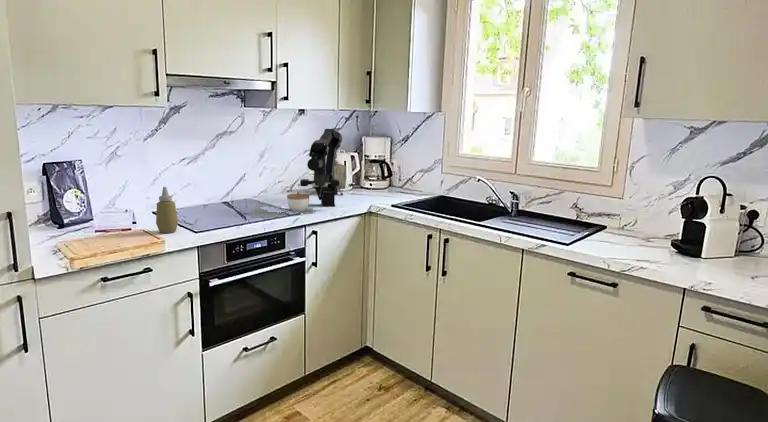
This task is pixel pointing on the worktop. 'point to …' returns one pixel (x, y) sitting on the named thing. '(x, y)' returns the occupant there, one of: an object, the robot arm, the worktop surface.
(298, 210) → the lidded jar
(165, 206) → the squeeze bottle
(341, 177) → the olive tall container
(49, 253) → the worktop surface
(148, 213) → the worktop surface
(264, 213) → the t mat
